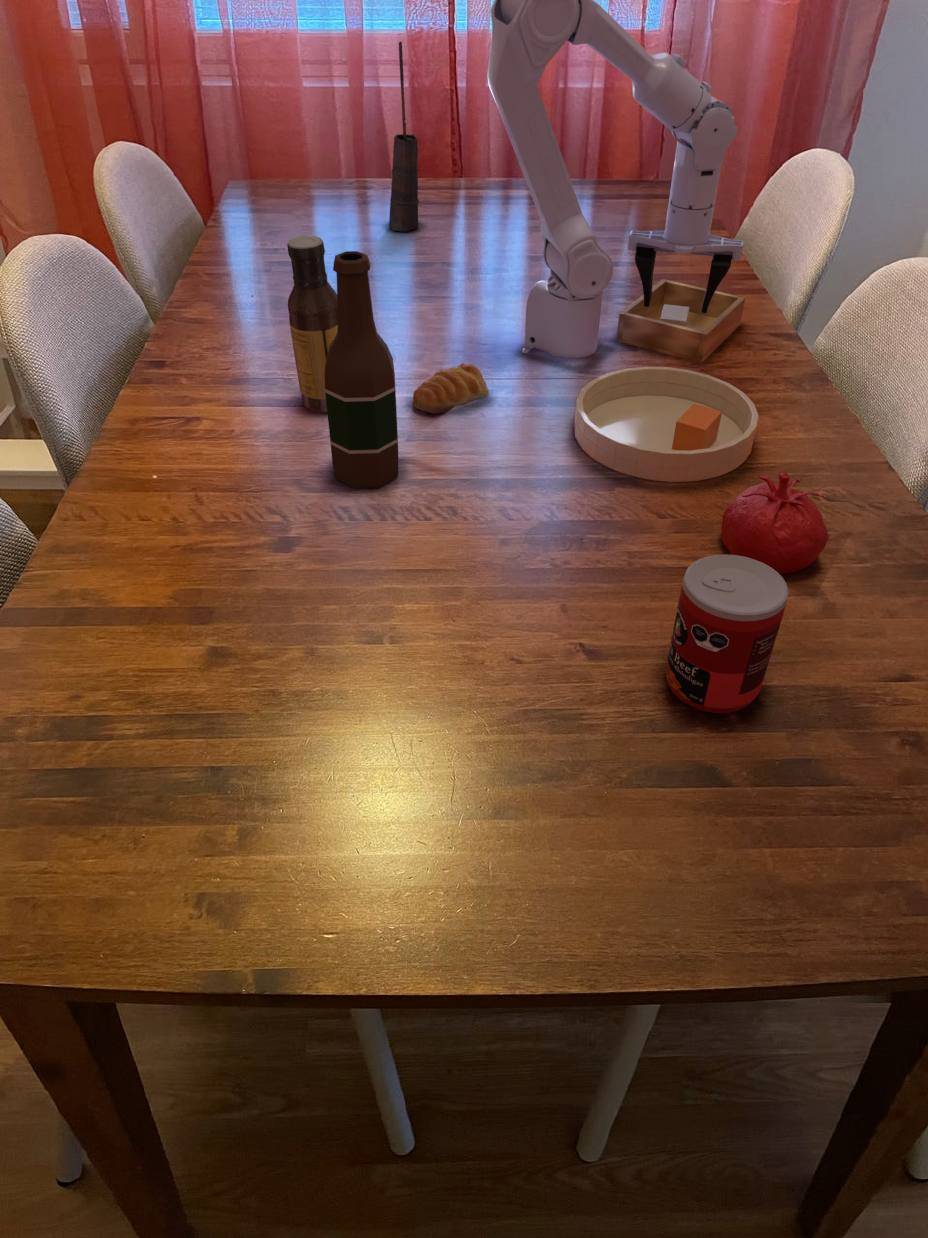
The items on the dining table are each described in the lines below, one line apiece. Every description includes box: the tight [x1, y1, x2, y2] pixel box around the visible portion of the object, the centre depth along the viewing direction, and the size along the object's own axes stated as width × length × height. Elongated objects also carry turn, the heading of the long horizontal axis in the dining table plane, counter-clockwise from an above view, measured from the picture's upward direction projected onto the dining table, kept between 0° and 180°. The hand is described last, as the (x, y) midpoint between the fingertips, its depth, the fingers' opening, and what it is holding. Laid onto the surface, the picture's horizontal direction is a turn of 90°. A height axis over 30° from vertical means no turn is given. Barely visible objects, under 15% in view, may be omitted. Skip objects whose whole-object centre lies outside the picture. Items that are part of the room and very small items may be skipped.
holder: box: [615, 278, 746, 364], centre depth 132 cm, size 13×15×4 cm
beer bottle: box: [325, 250, 399, 489], centre depth 98 cm, size 8×8×24 cm
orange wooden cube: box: [672, 404, 722, 451], centre depth 108 cm, size 4×5×4 cm
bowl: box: [573, 366, 760, 483], centre depth 110 cm, size 20×20×4 cm
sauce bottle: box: [286, 235, 338, 414], centre depth 111 cm, size 6×6×20 cm
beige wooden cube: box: [660, 304, 690, 327], centre depth 130 cm, size 4×5×4 cm
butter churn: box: [388, 40, 420, 233], centre depth 156 cm, size 9×10×28 cm
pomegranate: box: [720, 471, 830, 575], centre depth 91 cm, size 10×10×9 cm
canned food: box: [665, 554, 789, 714], centre depth 77 cm, size 8×8×11 cm
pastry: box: [412, 362, 489, 415], centre depth 117 cm, size 9×7×4 cm
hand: (675, 306), depth 128 cm, fingers open, 7 cm apart
